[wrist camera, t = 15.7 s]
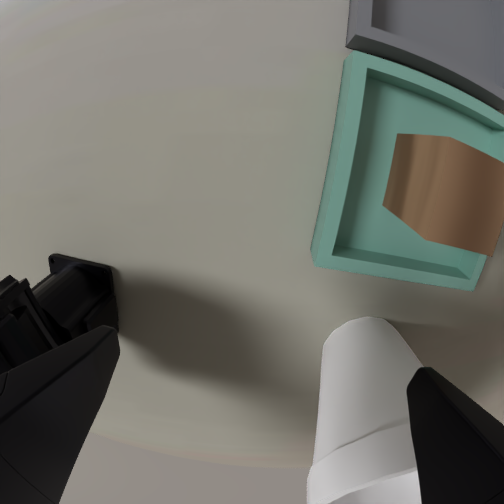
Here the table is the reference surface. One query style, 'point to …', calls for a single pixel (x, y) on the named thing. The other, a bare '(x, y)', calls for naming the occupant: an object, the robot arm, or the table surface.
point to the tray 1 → (437, 40)
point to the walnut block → (447, 191)
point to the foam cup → (364, 418)
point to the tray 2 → (378, 168)
